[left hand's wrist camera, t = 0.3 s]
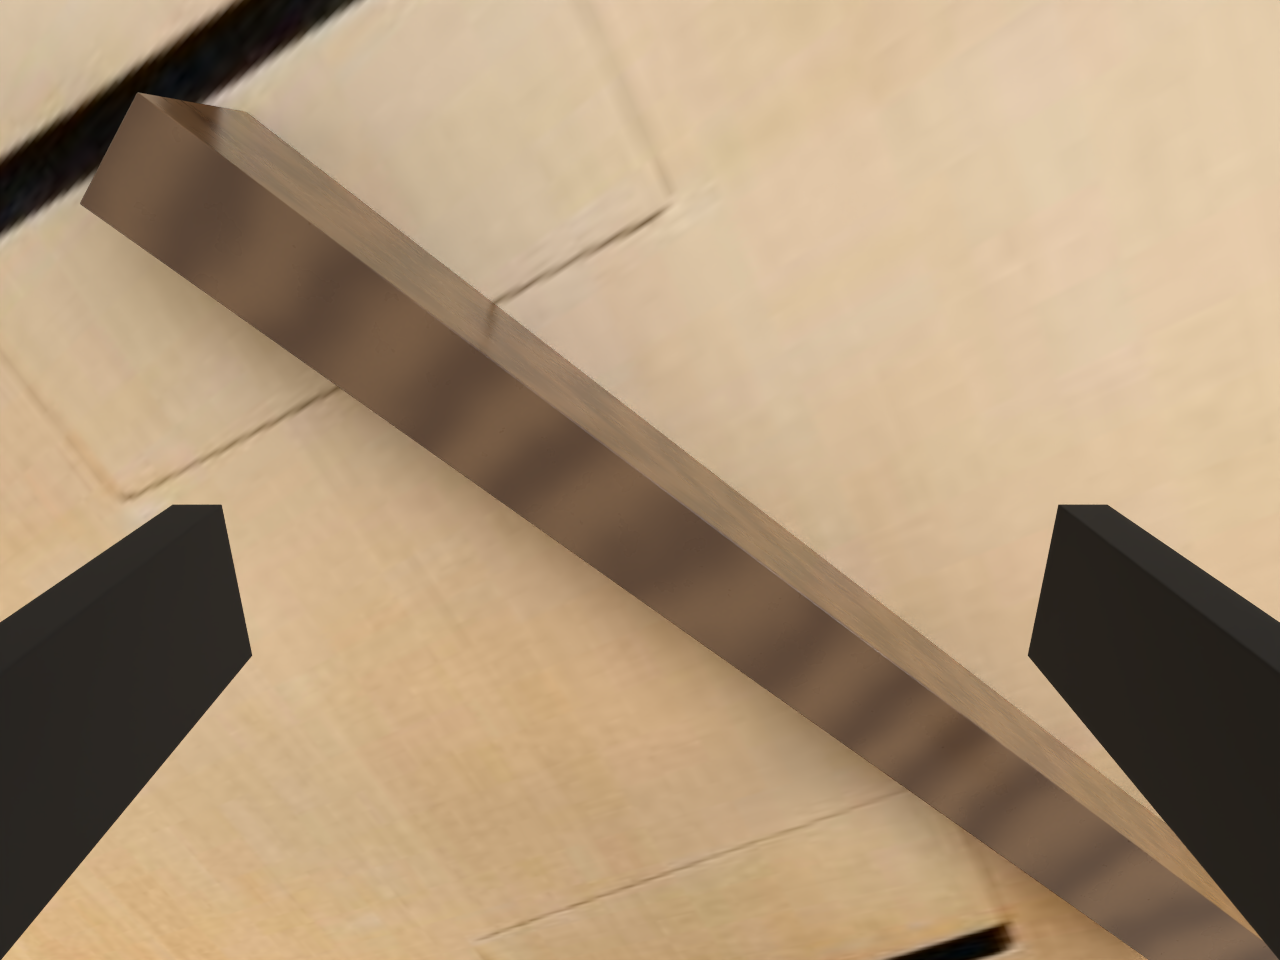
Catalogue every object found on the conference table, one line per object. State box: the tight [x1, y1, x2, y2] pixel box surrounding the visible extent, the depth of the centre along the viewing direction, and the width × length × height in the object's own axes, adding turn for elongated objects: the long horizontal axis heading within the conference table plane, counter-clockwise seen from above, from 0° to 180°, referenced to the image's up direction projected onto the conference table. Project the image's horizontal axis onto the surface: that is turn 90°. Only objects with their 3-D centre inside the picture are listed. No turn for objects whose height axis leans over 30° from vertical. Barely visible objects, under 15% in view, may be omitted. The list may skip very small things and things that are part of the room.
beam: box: [80, 93, 1279, 960], centre depth 39 cm, size 73×5×8 cm, turn 51°
